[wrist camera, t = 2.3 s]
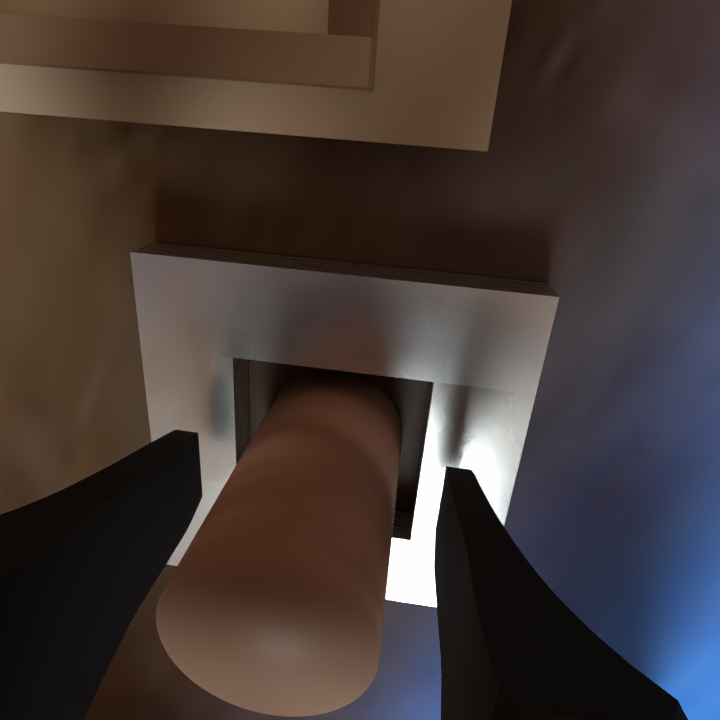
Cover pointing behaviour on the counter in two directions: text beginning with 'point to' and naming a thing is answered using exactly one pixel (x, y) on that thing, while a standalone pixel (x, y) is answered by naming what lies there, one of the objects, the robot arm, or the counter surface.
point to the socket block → (345, 365)
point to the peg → (293, 556)
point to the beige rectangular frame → (262, 65)
